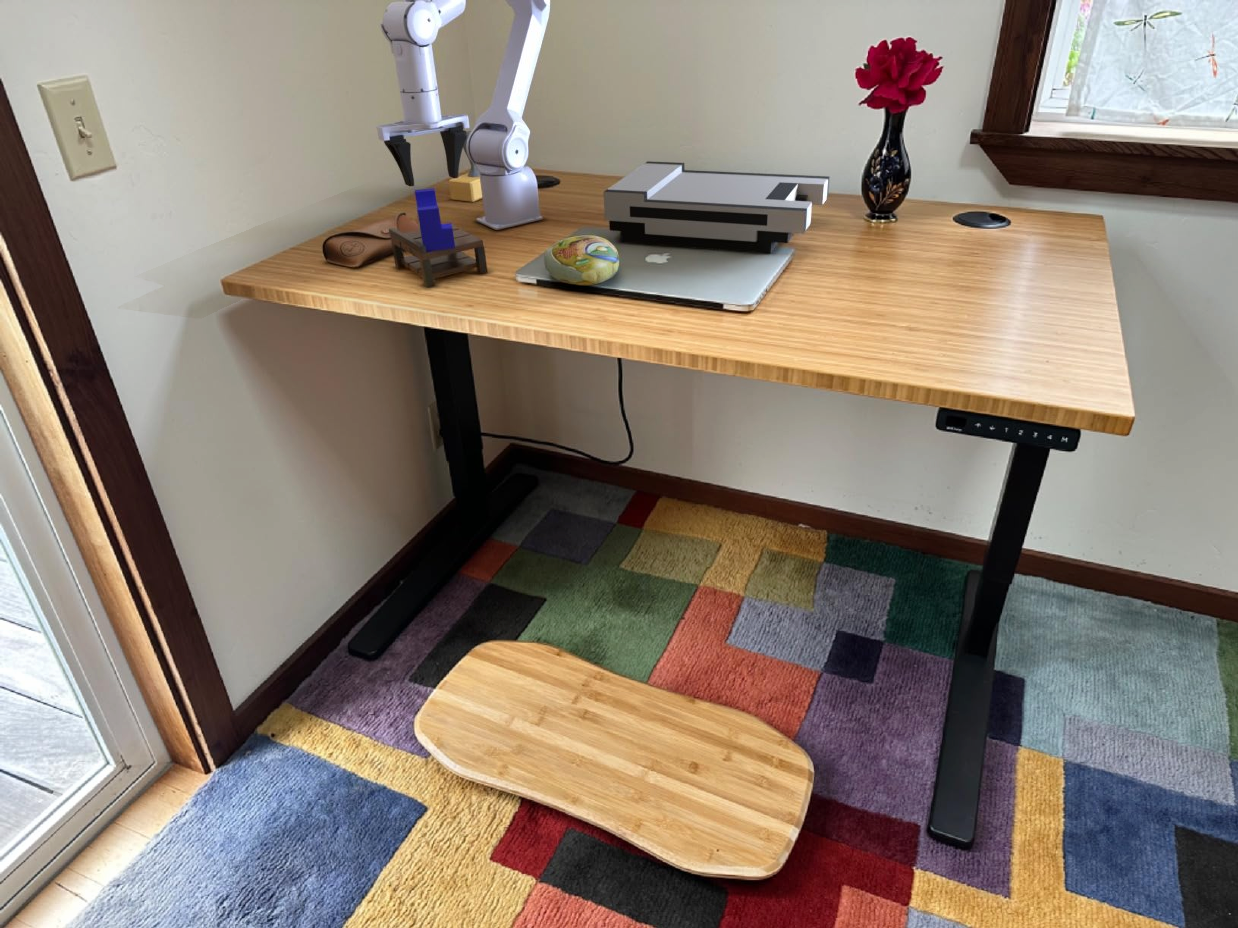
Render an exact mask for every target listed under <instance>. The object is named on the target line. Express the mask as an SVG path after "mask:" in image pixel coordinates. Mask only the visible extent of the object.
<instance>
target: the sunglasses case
mask: <svg viewBox="0 0 1238 928" xmlns="http://www.w3.org/2000/svg"><path fill="white" fill-rule="evenodd" d="M389 228H395V229H396V230H398V231H400V232H402V233H409V232H413V231H418V230H420V224H419V223H417V222H416V221H414V220H413V219H411V218H410V217H408V216H407V213H406V212H400V213H398V214H396V215H394V216H392V217H389V218H386V219H382V220H378V221H375V222H373V223H369V224H366V225H362V226H360V227H357V228H355V229H351V230H348V231H343V232H338V233H335V234H331V235H330V236H328V237H327V238H325V239H324V241H323V243H322V245H321V246H322V247H321V249H322V254H323V257H324V259H325V261H326V262H327V263H329V264H330V263H331V264H332V265H335V266H339V267H344V268H345V267H346V268H359V267H362V266H363V265H365V264H368V263H370V262H373V261H376V260H380V259H382V258H385V257H388V256H391V255H393V250H392V244H391V243H392V242H391V236H390V234H389ZM402 250H403V249H402ZM403 251H404V250H403Z"/></svg>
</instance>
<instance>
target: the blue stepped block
mask: <svg viewBox="0 0 1238 928" xmlns="http://www.w3.org/2000/svg"><path fill="white" fill-rule="evenodd" d="M414 196H415V201H416V202H415V203H416V211H417V218H418V225H419V226H420V230H421V236H422V242H423V245H425V248H426V252H428V251H437V250H445V249H454V248H455V243H454V236H453V229H452V225H453V224H452V223H451V222H448V223H447V222H445V223H442V222H441V214H440V208H439V205H438V202H437V201H438V200H437V196H436V189H435V188H434V187H432V188H431V187H430V188H423V189H414ZM451 224H452V225H451Z"/></svg>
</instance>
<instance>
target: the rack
mask: <svg viewBox="0 0 1238 928" xmlns="http://www.w3.org/2000/svg"><path fill="white" fill-rule="evenodd" d="M451 225H452V229H453V236H454V243H455V248H454V249H445V250H437V251H428V252H426V248H425V245H423V242H422V236H421V230H418V231H413V232H409V233H402V232H400V231H398V230H396V229H395V228H389V234H390V236H391V242H392V243H391V244H392V250H393V254H392V255H393V259H394V265H395V268H396V269H398V270H402V269H403V270H404V269H406V268H408V269H409V270H411V271H413V273H416V274H417V275H419V276H420V277H422V283H423V287H425V288H433V287H435V279H439V278H442V277H445V276H451V275H454V274H457V273H462V272H466V271H470V270H474V269H476V272H477V273H478V274H480V275H481V274H486V273H488V265H487V257H486V249H485V246H484V239H482V238H480V237H479V236H476V235H474V234H472V233H470V232H468V231H465V230H464V229H461V228H460V227H457V226H456V225H454V224H452V223H451ZM402 249H403V250H402ZM468 250H473V251H474V257H473V256H470V255H469V254H466V253H465V251H468ZM404 251H405V252H407V253H408V254H409V255H407V256H405V255H404Z"/></svg>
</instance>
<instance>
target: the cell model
mask: <svg viewBox="0 0 1238 928" xmlns="http://www.w3.org/2000/svg"><path fill="white" fill-rule="evenodd" d="M543 260H544V261H543V262H544V267H545V270H546V271H547V273H548V274H549V275H550V276H551V277H552V278H554V279H555V280H557V281H559V282H561V283H566V284H569V285H575V286H594V285H598V284H601V283H604V282H607V281H608V280H610V279H612V278H613V277H614V276H615V275H616V274H617V272H618V270H619V266H620V255H619V252H618V250H617V247H616V246H615V245H614V244H613V243H612V242H610V240H608V239H607V238H604V237H601V236H597V235H591V234H590V235H576V236H571V237H566V238H563V239H560V240H558V241H556V242H555V243H553V244H551V246H550V247H548V249H547V250H546V252H545V254H544V258H543Z"/></svg>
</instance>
